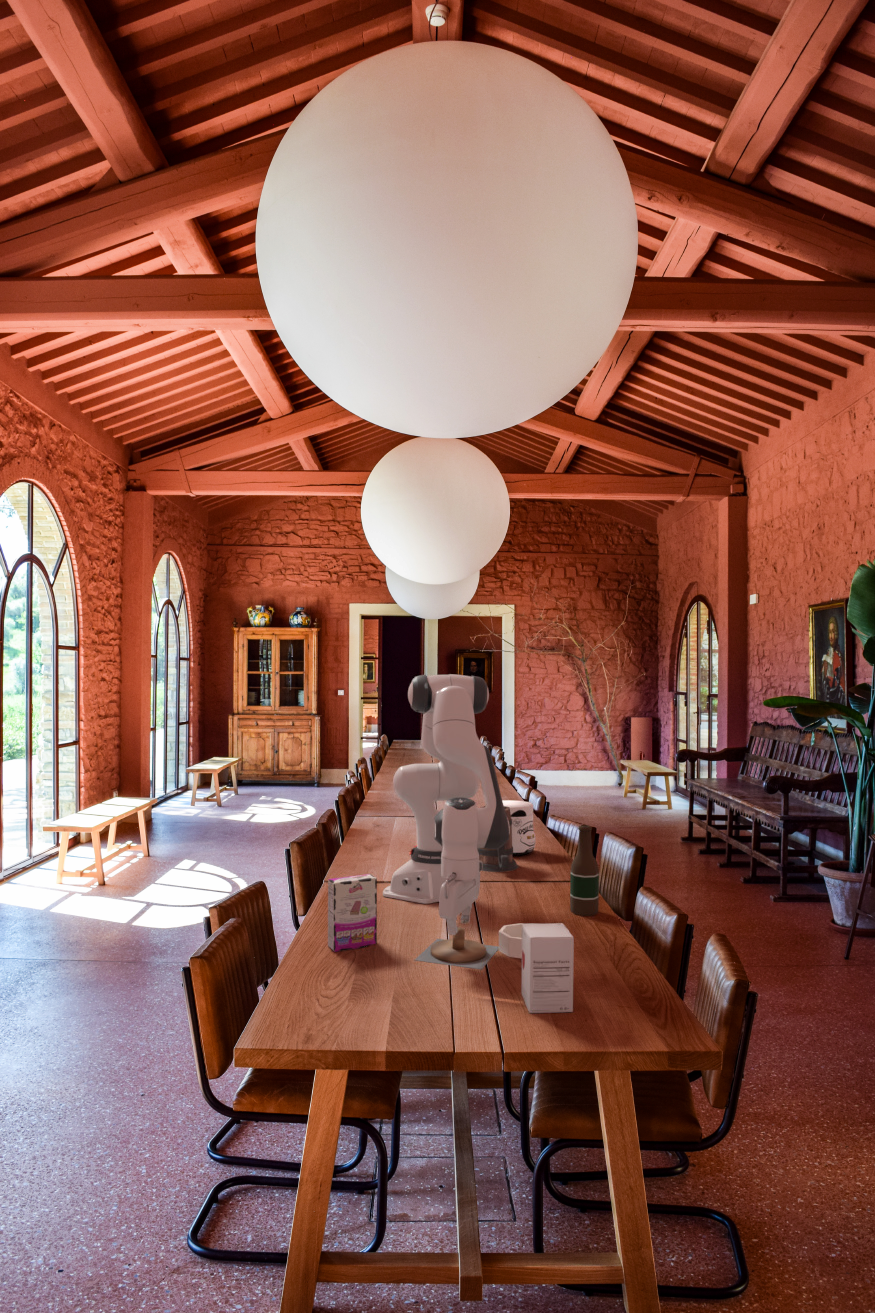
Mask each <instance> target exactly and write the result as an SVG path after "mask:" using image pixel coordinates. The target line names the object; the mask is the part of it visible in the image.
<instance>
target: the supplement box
mask: <svg viewBox="0 0 875 1313" xmlns="http://www.w3.org/2000/svg"><path fill="white" fill-rule="evenodd" d="M574 939H575V938H574V936H573V934H571V932H570V930H569V929H568V928H567V926H566V925H565V924H564V923H562V922H558V923H557V922H556V923H554V922H553V923H531V922H529V923H524V924H522V959H521V996H522V999H523V1000H524V1001H523V1002H524V1003H525V1006H526V1009H527V1010H528V1013H529V1014H545V1013H546V1014H547V1013H549V1014H551V1013H556V1014H557V1013H573V1011H574V957H575V955H574V954H575V953H574V948H575V943H574Z"/></svg>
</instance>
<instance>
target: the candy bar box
mask: <svg viewBox="0 0 875 1313" xmlns="http://www.w3.org/2000/svg"><path fill="white" fill-rule="evenodd" d="M377 893H378V880H377V877H376V876H374V875H372V874H370V873H367V874H359V875H358V874H357V875H352V876H350V875H349V876H342V877H334V878H328V879H327V947H328V948H329V949H330V950H332V952H334V953H337V952H345V951H350V950H356V949H362V948H368V947H370V946H371V945H375V944H378V942H377V940H378V938H377V936H378V933H377V932H378V926H377V923H378V920H377V918H378V911H377V909H378V908H377V907H378V905H377V904H378V903H377V902H378V901H377V900H378V894H377Z"/></svg>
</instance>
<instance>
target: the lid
mask: <svg viewBox="0 0 875 1313" xmlns="http://www.w3.org/2000/svg"><path fill="white" fill-rule="evenodd" d="M465 931H466V929H465V928H464V927H458V932H457V934H456V935H452V938H450V939H449V938H448V939H444V940H442V941H438V942H435V943H434V944H432V943H431V944H432V945H431V944H430V945H431V955H432V956H433V957H434V958H436V959H438V960H441V961H445V962H450V963H470V962H475V961H479V960H481V959H483V958H484V957H485V956H486V947H485V946H484V945H485V944H483V943H480V942H479V941H476V940H472V939H471V940H470V939H466V934H465V933H466V932H465Z"/></svg>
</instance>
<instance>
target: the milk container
mask: <svg viewBox="0 0 875 1313" xmlns="http://www.w3.org/2000/svg"><path fill="white" fill-rule="evenodd" d="M502 802H503V805H504V806H507V807H509V808H510V814H511V819H512V846H513V856H520V855H527V854H530V853H532V852H533V851H534V850H535V847H536V833H535V829H534V811H535V810H534V803H532V802H530V801H524V800H517V799H516V800H514V799H513V800H512V799H511V800H509V799H507V800H503V799H502Z"/></svg>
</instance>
